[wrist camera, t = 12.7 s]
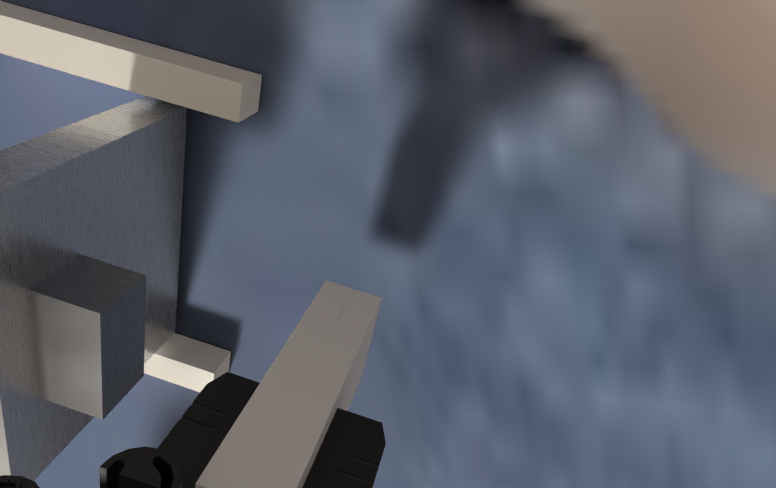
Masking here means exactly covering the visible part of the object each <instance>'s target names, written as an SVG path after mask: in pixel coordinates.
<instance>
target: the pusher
mask: <svg viewBox="0 0 776 488" xmlns="http://www.w3.org/2000/svg"><path fill="white" fill-rule="evenodd" d="M186 120H187V107H183V106H180V105H176V104H173V103H169V102H166V101H163V100H159V99H156V98H152V97H149V96H145V97H142V98H140V99H137V100H134V101H132V102H129V103H126V104H124V105H121V106H118V107H116V108H113V109H110V110H108V111H105V112H102V113H100V114H97V115H94V116H92V117H89V118H86V119H84V120H81V121H78V122H76V123H73V124H70V125H68V126H65V127H62V128H60V129H57V130H54V131H52V132H49V133H46V134H44V135H41V136H38V137H36V138H33V139H30V140H28V141H25V142H22V143H20V144H17V145H14V146H12V147H9V148H6V149H4V150H1V151H0V476H3V475H12V476H23V477H25V478H27V479H30V480H32V481H34V480H35V479H36V478H37V477H38V476H39V475H40V474H41V473H42V472H43V470H44V469H45V468H46V467H47V466H48V465H49V464H50V463H51V462H52V461H53V460H54V459H55V458H56V457H57V456H58V455H59V454H60V453H61V451H62V450H63V449H64V448H65V447H66V446H67V445H68V444H69V443H70V442H71V441H72V440H73V439H74V438H75V437H76V436H77V435H78V434H79V432H80V431H81V430H82V429H83V428H84V427H85V426H86V425H87V424H88V423H89V422H90V421H91V420H92V419H93V418H94V417H96V418H99V419H102V420H103V419H104V418H105V417H106V416H107V415H108V414H109V412H110V411H111V410H112V409H113V408H114V407H115V406H116V405H117V404H118V403H119V402H120V401H121V399H122V398H123V397H124V396H125V395H126V394H127V393H128V392H129V391H130V390H131V389H132V388H133V387H134V385H135V384H136V383H137V382H138V381H139V380H140V379H141V378H142V377H143V376H144V364H145V363H146V362H147V361H148V360H149V359H150V358H151V356H152V355H153V354H154V353H155V352H156V351H157V350H158V349H159V348H160V347H161V346H162V345H163V344H164V343H165V342H166V341H167V340H168V339H169V337H170V336H171V335H172V334H173V333H174V332H175V327H176V308H177V290H178V271H179V252H180V233H181V214H182V195H183V177H184V158H185V139H186Z"/></svg>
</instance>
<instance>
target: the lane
mask: <svg viewBox="0 0 776 488" xmlns="http://www.w3.org/2000/svg"><path fill="white" fill-rule="evenodd" d="M0 53H2V54H5V55H9V56H12V57H16V58H19V59H23V60H26V61H29V62H33V63H36V64H40V65H43V66H46V67H50V68H53V69H57V70H60V71H64V72H67V73H70V74H74V75H77V76H81V77H84V78H87V79H91V80H94V81H98V82H101V83H105V84H108V85H111V86H115V87H118V88H122V89H125V90H128V91H132V92H135V93H139V94H142V95H146V96H149V97H152V98H156V99H159V100H163V101H166V102H169V103H173V104H176V105H180V106H183V107H187V108H190V109H193V110H197V111H200V112H204V113H207V114H210V115H214V116H217V117H221V118H224V119H228V120H231V121H234V122H238V123H239V122H241V121H242V120H244V119H246V118H248V117H249V116H251V115H253V114H254V113H256V112H258V107H259V98H260V89H261V81H262V75H261V74H257V73H254V72H250V71H246V70H243V69H239V68H236V67H232V66H229V65H225V64H222V63H218V62H215V61H211V60H208V59H204V58H201V57H197V56H194V55H190V54H186V53H183V52H179V51H176V50H172V49H169V48H165V47H162V46H158V45H155V44H151V43H148V42H144V41H141V40H137V39H134V38H130V37H126V36H123V35H119V34H116V33H112V32H109V31H105V30H102V29H98V28H95V27H91V26H88V25H84V24H81V23H77V22H74V21H70V20H66V19H63V18H59V17H56V16H52V15H49V14H45V13H42V12H38V11H35V10H31V9H28V8H24V7H21V6H17V5H14V4H10V3H6V2H3V1H0ZM230 355H231V351H228V350H225V349H222V348H219V347H216V346H213V345H210V344H207V343H204V342H201V341H198V340H195V339H192V338H189V337H186V336H183V335H180V334H177V333H173V334H172V335H171V336H170V337H169V339H168V340H167V341H166V342H165V343H164V344H163V345H162V346H161V347H160V348H159V349H158V350H157V351H156V352H155V353H154V354H153V355H152V356H151V358H150V359H149V360H148V361H147V362H146V363H145V364H144V373H145V374H148V375H151V376H154V377H157V378H160V379H163V380H166V381H168V382H171V383H174V384H177V385H180V386H183V387H186V388H189V389H192V390H195V391H198V392H201V391H202V390H203V388H204V387H205V386H206V384H208V383H209V382H211V381H213V380H214V379H216V378H218V377H219V376H221V375H223V374H224V373H226V372H229V364H230Z"/></svg>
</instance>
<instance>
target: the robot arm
mask: <svg viewBox="0 0 776 488" xmlns="http://www.w3.org/2000/svg"><path fill="white" fill-rule="evenodd" d="M381 300H382V298H380V297H377V296H374V295H370V294H367V293H364V292H361V291H358V290H355V289H351V288H348V287H345V286H342V285H339V284H336V283H332V282H329V281H325V283H324V284H323V286H322V287H321V289H320V290H319V292H318V294H317V295H316V297H315V298H314V300H313V301H312V303H311V304H310V306H309V308H308V309H307V311H306V312H305V314H304V315H303V317H302V319H301V320H300V322H299V323H298V325H297V326H296V328H295V329H294V331H293V333H292V334H291V336H290V337H289V339H288V340H287V342H286V343H285V345H284V347H283V348H282V350H281V351H280V353H279V354H278V356H277V357H276V359H275V361H274V362H273V364H272V365H271V367H270V368H269V370H268V371H267V373H266V375H265V376H264V378H263V379H262V381H261V382H260V383H258V382H255V381H252V380H250V379H247V378H244V377H241V376H238V375H235V374H232V373H229V372H226V373H224V374H223V375H221V376H219V377H218V378H216V379H214V380H213V381H211V382H209V383H208V384H206V386H205V387H204V388H203V390H202V391H201V392H200V393H199V395H198V396H197V397H196V399H195V400H194V401H193V404H192V406H191V405H190V407H189V408H188V409H187V411H186V412H185V413H184V414H183V416H182V418H181V420H179V421H178V422H177V424H176V425H175V426H174V428H173V429H172V430H171V431H170V433H169V434H168V435H167V437H166V438H165V439H164V441H163V442H162V443H161V445H160V446H159V447H158V449H156V448H150V447H140V448H132V449H127V450H125V451H123V452H120V453H118V454H116V455H113V456H112V457H111V458H109V459H108V460H107V461H106V462H105V463H104V464H102V465H101V466H100V488H372V487H373V484H374V480H375V477H376V474H377V471H378V467H379V464H380V461H381V457H382V454H383V451H384V448H385V444H386V443H385V437H384V432H383V426H382V423H381V422H378V421H375V420H372V419H369V418H366V417H363V416H360V415H358V414H355V413H352V412H349V411H348V409H349V407H350V404H351V402H352V400H353V397H354V395H355V392H356V390H357V388H358V385H359V383H360V380H361V377H362V373H363V370H364V366H365V362H366V358H367V354H368V350H369V346H370V342H371V338H372V335H373V331H374V327H375V323H376V319H377V315H378V311H379V307H380V304H381ZM0 488H39V486H38V485H37V484H36V483H35V481H32V480H30V479H27V478H25V477H23V476H12V475H3V476H0Z"/></svg>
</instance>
